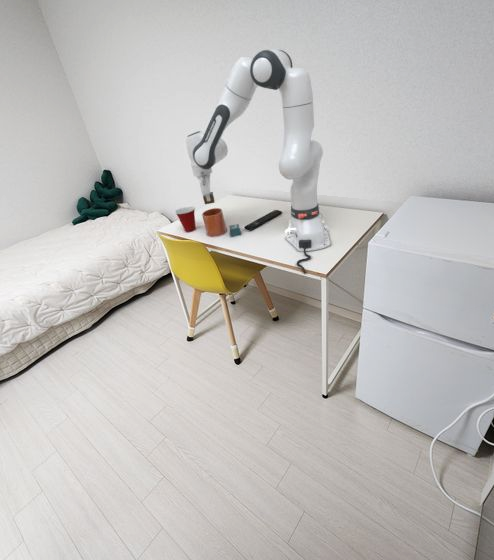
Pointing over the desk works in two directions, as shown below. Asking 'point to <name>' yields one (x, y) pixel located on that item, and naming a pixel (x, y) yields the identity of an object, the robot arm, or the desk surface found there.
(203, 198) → the brown block
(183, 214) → the plastic cup
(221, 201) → the desk surface
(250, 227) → the remote control
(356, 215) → the desk surface
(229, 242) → the desk surface
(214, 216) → the terracotta cup
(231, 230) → the teal block
